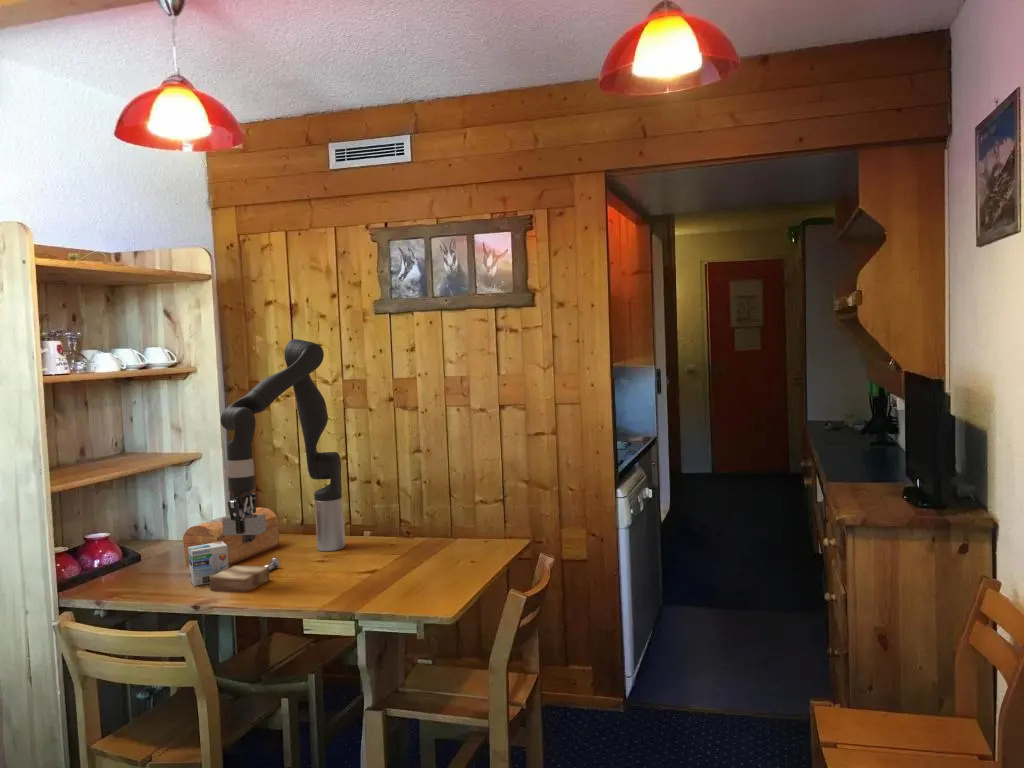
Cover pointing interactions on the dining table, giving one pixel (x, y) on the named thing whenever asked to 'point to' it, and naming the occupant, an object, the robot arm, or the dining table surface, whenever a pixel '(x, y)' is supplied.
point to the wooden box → (234, 537)
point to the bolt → (273, 564)
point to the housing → (245, 525)
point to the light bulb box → (207, 561)
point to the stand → (239, 578)
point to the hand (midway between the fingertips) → (244, 531)
